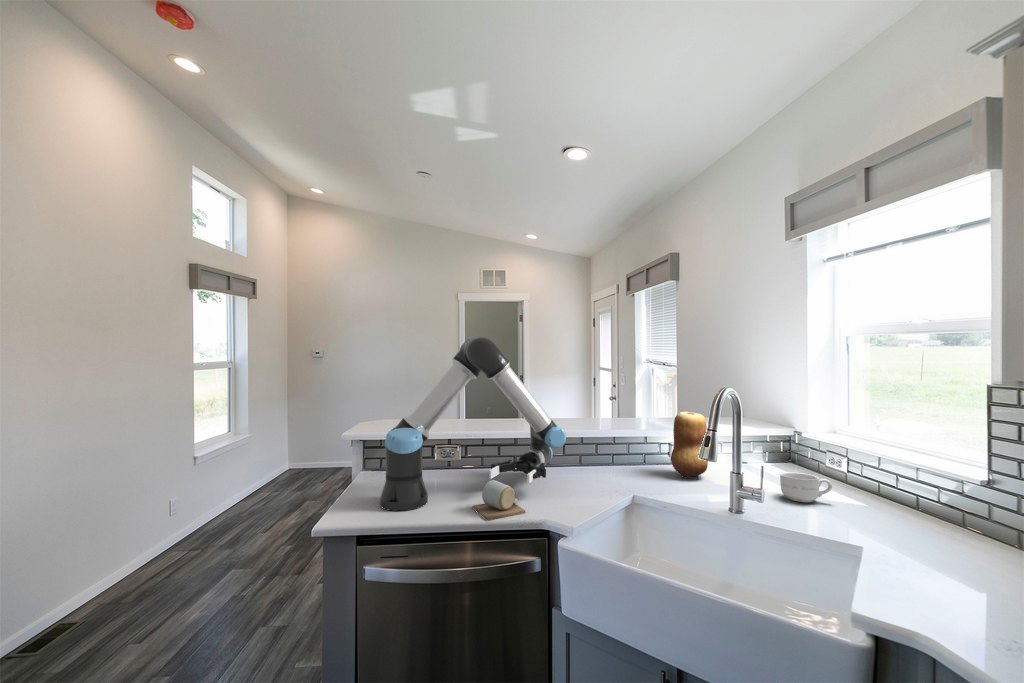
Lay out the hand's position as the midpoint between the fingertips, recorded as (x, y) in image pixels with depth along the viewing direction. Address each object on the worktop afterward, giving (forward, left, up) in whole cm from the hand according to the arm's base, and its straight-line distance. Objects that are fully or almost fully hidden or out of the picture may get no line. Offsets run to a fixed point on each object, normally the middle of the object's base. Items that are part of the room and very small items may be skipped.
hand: (508, 476), depth 140 cm
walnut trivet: (+5, -6, -8) cm, 11 cm away
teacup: (+45, +85, -9) cm, 96 cm away
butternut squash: (+8, +75, -9) cm, 76 cm away
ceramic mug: (+4, -4, -8) cm, 10 cm away
